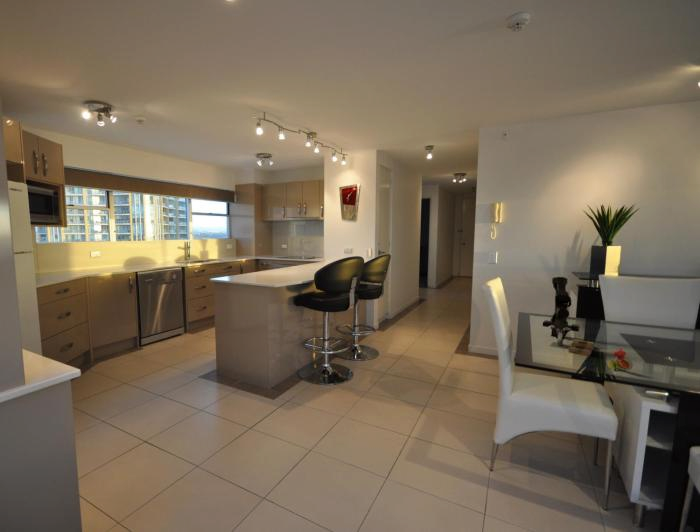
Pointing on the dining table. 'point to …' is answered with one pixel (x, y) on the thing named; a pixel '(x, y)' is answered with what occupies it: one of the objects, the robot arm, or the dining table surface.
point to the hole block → (581, 347)
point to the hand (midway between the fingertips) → (560, 339)
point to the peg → (560, 337)
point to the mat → (564, 346)
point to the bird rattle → (625, 362)
